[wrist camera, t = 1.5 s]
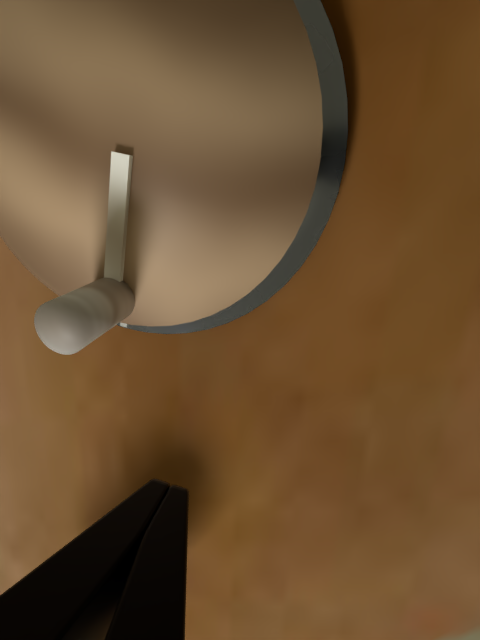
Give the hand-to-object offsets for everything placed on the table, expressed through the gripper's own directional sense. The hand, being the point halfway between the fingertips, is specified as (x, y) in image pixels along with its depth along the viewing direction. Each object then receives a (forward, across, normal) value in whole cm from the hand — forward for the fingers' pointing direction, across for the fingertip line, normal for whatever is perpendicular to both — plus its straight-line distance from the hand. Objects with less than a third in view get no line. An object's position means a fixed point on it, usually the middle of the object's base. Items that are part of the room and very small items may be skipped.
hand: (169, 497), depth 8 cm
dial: (+11, +7, -7) cm, 15 cm away
